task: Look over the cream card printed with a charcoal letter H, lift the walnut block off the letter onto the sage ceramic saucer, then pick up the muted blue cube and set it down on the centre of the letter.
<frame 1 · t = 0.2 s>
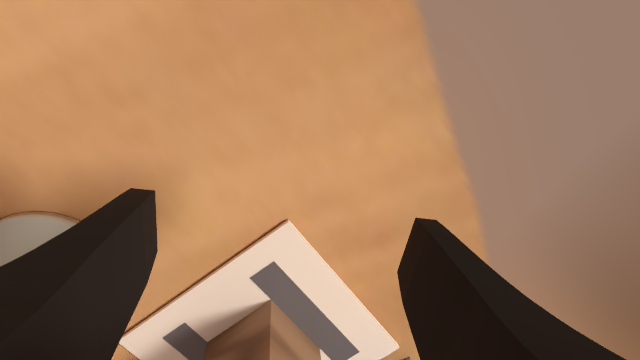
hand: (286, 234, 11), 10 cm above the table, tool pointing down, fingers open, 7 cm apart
walnut block: (264, 345, 26), resting on letter card
saucer: (50, 275, 23), on the table
letter card: (264, 341, 26), on the table
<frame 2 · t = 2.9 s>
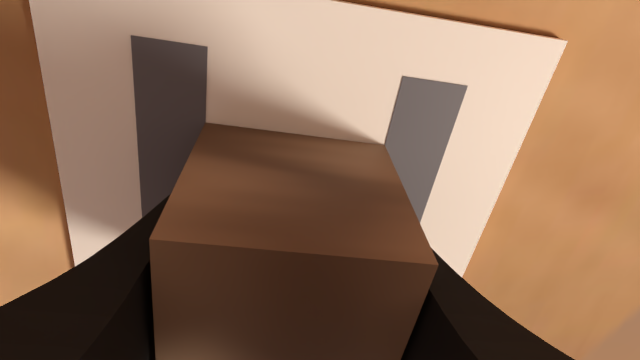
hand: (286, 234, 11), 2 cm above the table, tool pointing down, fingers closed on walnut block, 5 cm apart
walnut block: (286, 208, 13), resting on letter card, touching gripper
letter card: (286, 202, 13), on the table
when the fingers open (3 cm above the table, at t = 6.5 s): walnut block drops 1 cm, resting on saucer.
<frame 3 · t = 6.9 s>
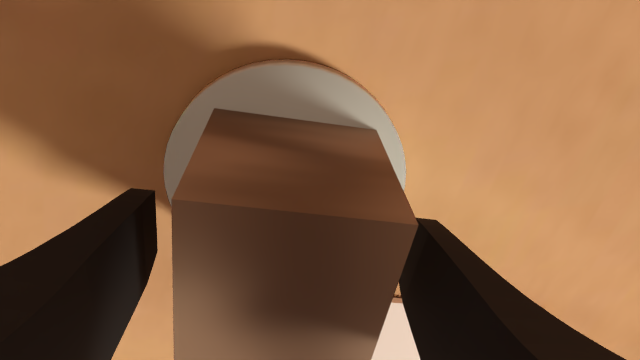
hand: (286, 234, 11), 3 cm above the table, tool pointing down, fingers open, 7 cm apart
walnut block: (287, 188, 14), point 1 cm above the table, touching saucer
saucer: (287, 174, 14), on the table
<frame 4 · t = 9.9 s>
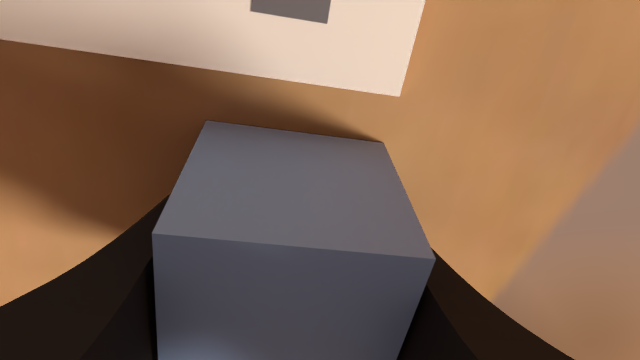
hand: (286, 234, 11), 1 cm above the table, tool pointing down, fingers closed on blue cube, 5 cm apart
blue cube: (286, 205, 13), on the table, touching gripper
when the fingers open (3 cm above the table, at t = 13.5 s): blue cube stays where it is, resting on letter card.
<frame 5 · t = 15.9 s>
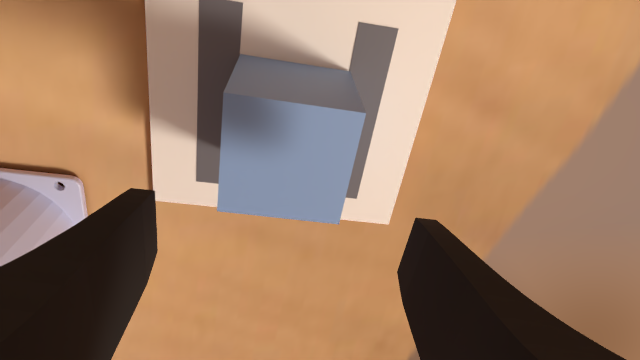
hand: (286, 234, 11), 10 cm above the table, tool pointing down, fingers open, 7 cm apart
blue cube: (288, 114, 20), resting on letter card
letter card: (289, 108, 20), on the table
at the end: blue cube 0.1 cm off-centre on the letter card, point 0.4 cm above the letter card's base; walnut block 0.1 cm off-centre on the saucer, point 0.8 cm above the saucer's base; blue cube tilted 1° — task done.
